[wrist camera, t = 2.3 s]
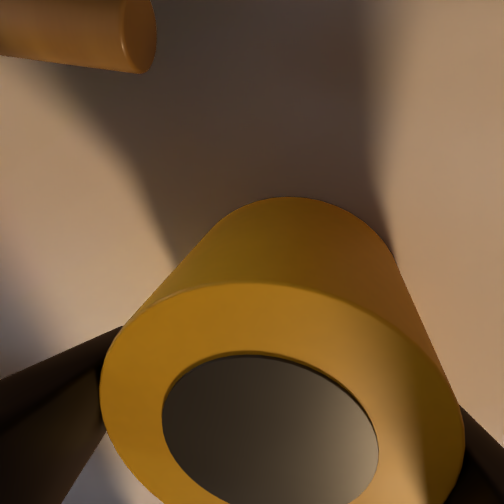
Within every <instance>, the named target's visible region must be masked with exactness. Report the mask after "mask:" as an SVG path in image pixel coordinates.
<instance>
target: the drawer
mask: <svg viewBox="0 0 504 504" xmlns="http://www.w3.org/2000/svg"><path fill="white" fill-rule="evenodd" d="M156 45H157V29H156V20H155V14H154V10H153V7H152V4H151V1H150V0H0V55H1V56H8V57H16V58H23V59H31V60H38V61H46V62H53V63H61V64H68V65H75V66H83V67H90V68H98V69H105V70H113V71H120V72H128V73H135V74H142V73H145V72H147V71H148V70H149V69H150V67H151V65H152V63H153V61H154V57H155V53H156Z"/></svg>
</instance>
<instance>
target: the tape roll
mask: <svg viewBox="0 0 504 504" xmlns="http://www.w3.org/2000/svg"><path fill="white" fill-rule="evenodd" d="M99 399H100V408H101V413H102V418H103V421H104V424H105V427H106V430H107V433H108V435H109V438H110V440H111V441H112V443H113V445H114V447H115V449H116V451H117V453H118V454H119V456H120V457H121V459H122V460H123V462H124V463H125V465H126V466H127V467H128V468H129V470H130V471H131V472H132V473H133V474H134V476H135V477H136V478H137V479H138V480H139V481H140V482H141V483H142V484H143V485H144V486H145V487H146V488H147V489H148V490H149V491H150V492H151V493H152V494H153V495H155V496H156V497H157V498H158V499H159V500H161V501H162V502H163V503H164V504H443V503H444V502H445V501H446V500H447V498H448V496H449V495H450V493H451V492H452V490H453V488H454V487H455V485H456V482H457V480H458V477H459V474H460V472H461V469H462V464H463V458H464V451H465V431H464V423H463V419H462V415H461V411H460V407H459V404H458V402H457V399H456V397H455V395H454V393H453V390H452V388H451V386H450V384H449V381H448V379H447V377H446V375H445V372H444V370H443V368H442V366H441V363H440V361H439V359H438V357H437V354H436V352H435V350H434V348H433V345H432V343H431V341H430V339H429V337H428V334H427V332H426V330H425V328H424V325H423V323H422V321H421V319H420V316H419V314H418V312H417V310H416V307H415V305H414V303H413V301H412V298H411V296H410V294H409V292H408V289H407V287H406V285H405V283H404V280H403V278H402V276H401V274H400V271H399V269H398V267H397V265H396V263H395V260H394V258H393V256H392V254H391V252H390V251H389V249H388V248H387V246H386V245H385V243H384V242H383V240H382V239H381V238H380V237H379V236H378V235H377V234H376V232H375V231H374V230H373V229H371V228H370V227H369V226H368V225H367V224H366V223H364V222H363V221H362V220H360V219H359V218H357V217H356V216H354V215H353V214H351V213H350V212H348V211H346V210H343V209H341V208H339V207H337V206H335V205H332V204H329V203H326V202H323V201H319V200H314V199H309V198H302V197H277V198H270V199H265V200H260V201H256V202H253V203H251V204H248V205H245V206H243V207H241V208H239V209H237V210H235V211H233V212H231V213H230V214H228V215H227V216H225V217H224V218H223V219H221V220H220V221H219V222H218V223H217V224H216V225H215V226H214V227H213V228H211V230H210V231H209V232H208V233H207V234H206V235H205V236H204V237H203V238H202V239H201V241H200V242H199V243H198V244H197V245H196V246H195V247H194V248H193V249H192V251H191V252H190V253H189V254H188V255H187V256H186V257H185V258H184V259H183V261H182V262H181V263H180V264H179V265H178V266H177V267H176V268H175V269H174V271H173V272H172V273H171V274H170V275H169V276H168V277H167V278H166V279H165V280H164V282H163V283H162V284H161V285H160V286H159V287H158V288H157V289H156V290H155V292H154V293H153V294H152V295H151V296H150V297H149V298H148V299H147V300H146V302H145V303H144V304H143V305H142V306H141V307H140V308H139V309H138V310H137V311H136V313H135V314H134V315H133V316H132V317H131V318H130V319H129V320H128V321H127V323H126V324H125V325H124V326H123V328H122V329H121V330H120V331H119V333H118V334H117V335H116V337H115V338H114V340H113V342H112V344H111V346H110V347H109V349H108V351H107V353H106V356H105V360H104V363H103V366H102V369H101V376H100V384H99Z"/></svg>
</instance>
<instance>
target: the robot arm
mask: <svg viewBox="0 0 504 504" xmlns="http://www.w3.org/2000/svg"><path fill="white" fill-rule="evenodd" d="M122 328H123V326H120V327H118V328H116V329H113V330H111V331H109V332H107V333H104V334H102V335H100V336H98V337H95V338H93V339H91V340H89V341H86V342H84V343H82V344H80V345H77V346H75V347H73V348H71V349H68V350H66V351H64V352H62V353H59V354H57V355H55V356H53V357H50V358H48V359H46V360H44V361H41V362H39V363H37V364H35V365H32V366H30V367H28V368H26V369H24V370H21V371H19V372H17V373H15V374H12V375H10V376H8V377H6V378H3V379H1V380H0V504H61V503H62V501H63V500H64V498H65V496H66V495H67V493H68V492H69V490H70V488H71V487H72V485H73V484H74V482H75V481H76V479H77V477H78V476H79V474H80V473H81V471H82V469H83V468H84V466H85V465H86V463H87V462H88V460H89V458H90V457H91V455H92V454H93V452H94V450H95V449H96V447H97V446H98V444H99V443H100V441H101V439H102V438H103V436H104V434H105V433H106V431H107V430H106V427H105V424H104V421H103V418H102V413H101V408H100V399H99V384H100V376H101V369H102V366H103V363H104V360H105V356H106V353H107V351H108V349H109V347H110V346H111V344H112V342H113V340H114V338H115V337H116V335H117V334H118V333H119V331H120V330H121V329H122ZM459 407H460V411H461V415H462V419H463V423H464V431H465V451H464V458H463V464H462V469H461V472H460V474H459V477H458V480H457V482H456V485H455V487H454V488H453V490H452V492H451V493H450V495H449V496H448V498H447V500H446V501H445V502H444V503H443V504H504V448H503V447H502V446H501V445H500V444H499V443H498V442H497V441H496V440H495V439H494V438H493V437H492V436H491V435H490V434H489V433H488V432H487V431H486V430H485V429H484V428H483V427H482V426H481V425H480V424H478V423H477V422H476V421H475V420H474V419H473V418H472V417H471V416H470V415H469V414H468V413H467V412H466V411H465V410H464V409H463V408H462V407H461V406H460V405H459Z"/></svg>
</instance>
